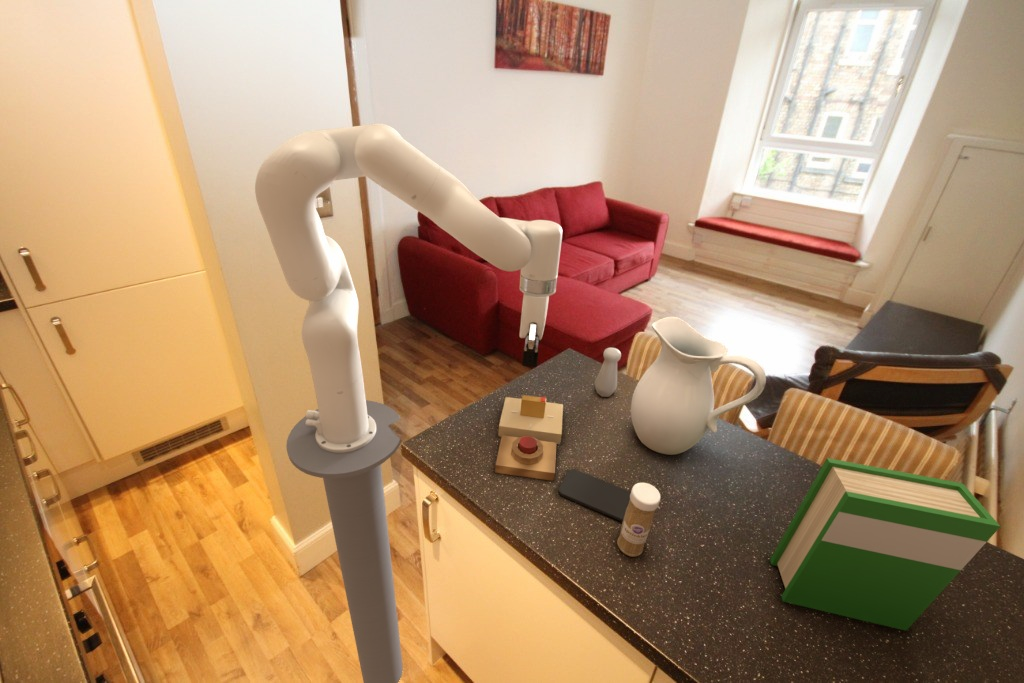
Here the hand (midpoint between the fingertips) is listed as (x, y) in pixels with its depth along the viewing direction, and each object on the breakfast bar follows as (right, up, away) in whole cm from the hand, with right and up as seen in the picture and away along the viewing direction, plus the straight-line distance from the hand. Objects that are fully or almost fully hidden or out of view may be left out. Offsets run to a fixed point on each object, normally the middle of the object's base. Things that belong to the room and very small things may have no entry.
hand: (531, 354), depth 100 cm
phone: (+13, -28, -13) cm, 33 cm away
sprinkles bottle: (+16, -33, -22) cm, 43 cm away
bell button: (-1, -19, -7) cm, 21 cm away
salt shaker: (+20, -11, +19) cm, 29 cm away
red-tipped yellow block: (0, -14, +4) cm, 15 cm away
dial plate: (0, -17, +5) cm, 17 cm away
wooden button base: (-1, -22, -5) cm, 23 cm away
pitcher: (+33, -21, +2) cm, 39 cm away
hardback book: (+48, -39, -27) cm, 67 cm away
